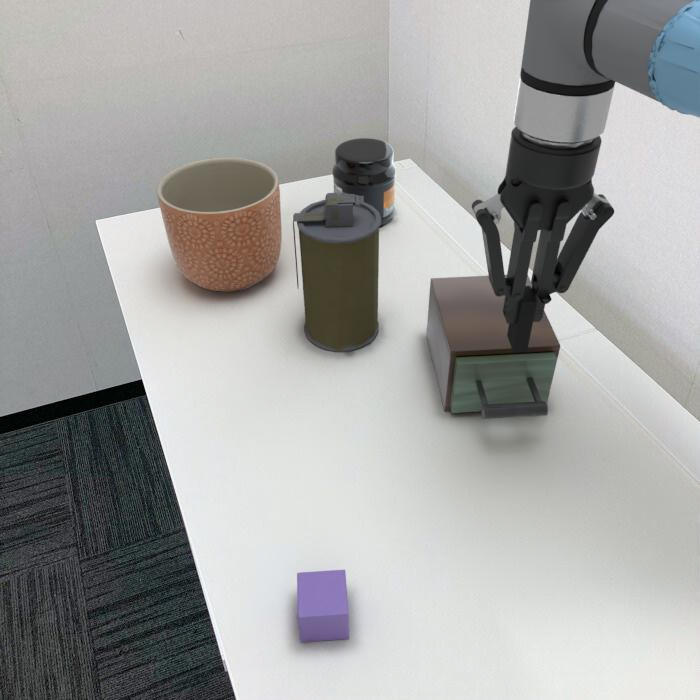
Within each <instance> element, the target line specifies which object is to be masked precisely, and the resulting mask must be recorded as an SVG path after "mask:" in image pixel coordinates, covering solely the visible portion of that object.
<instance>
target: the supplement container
mask: <svg viewBox="0 0 700 700" xmlns="http://www.w3.org/2000/svg"><path fill="white" fill-rule="evenodd" d="M394 153H395V152H394V148H393V147H392V146H391V144H389V143H388V142H386V141H384V140H381V139H376V138H370V137H369V138H368V137H367V138H365V137H361V138H353V139H349V140H346V141H343V142H342V143H340V144H339V145H337V147H336V148H335V150H334V162H335V163H334V165H333V167H332V177H333V193H338V194H355V196H356V195H358V196H359V198H360V200H359V201H362V202H365V203H367V204H369V205H371V206H373V207H374V208H375V209H376V210H377V211H378V212H379V213H380V217H381V224H380V226H382V225H384V224H386V223H388V222H389V221H390V220H391V219H392V218H393V217H394V214H395V210H396V209H395V196H396V195H395V194H396V193H395V192H396V176H397V168H396V166H395V163H394Z"/></svg>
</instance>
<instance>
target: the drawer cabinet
mask: <svg viewBox="0 0 700 700" xmlns="http://www.w3.org/2000/svg"><path fill="white" fill-rule="evenodd" d="M505 278H507V274H505ZM526 286H530V287H531V288H532V284H531V279H530V277H529V274H528V275H527V280H526ZM504 300H505V296H504V295H503V296H500V297H498V296H496V295H495V293H494V291H493V288H492V286H491V283H490V280H489V275H475V276H474V275H472V276H471V275H470V276H451V277H431V278H430V281H429V295H428V309H427V323H426V340H427V345H428V348H429V352H430V358H431V361H432V366H433V369H434V373H435V378H436V382H437V387H438V390H439V394H440V399H441V403H442V406H443V410H444V412H451V408H450V402H451V393H452V384H453V376H454V367H455V358H456V357H457V356H469V355H488V354H506V353H525V352H543V353H548V352H554V353H555V355H556V358H557V361H556V365H555V368H556V367H557V363H558V359H559V355H560V349H561V343H560V342H559V339H558V337H557V335H556V333H555V331H554V328H553V326H552V323H551V321H550V320H549V317H548V315H547V313H546V311H545V310H544V313H543V317H542V319H541V320H540V322H533V325H532V330H531V335H530V340H529V345H528V350H527V351H523V352H513V350H512V347H511V345H510V342H509V339H508V337H507V334H508V328H509V323H508V324H507V322H506V319H505V317H504V314H503V307H504ZM555 371H556V369H555V370H554V372H555ZM554 375H555V373H554V374H553V376H554ZM553 380H554V377H553V378H552V382H551V385H552V384H553ZM551 388H552V386H551V387H550V389H551ZM550 392H551V390H550V391H549V393H550ZM549 395H550V394H549ZM549 395H548V399H547V402H548V400H549Z"/></svg>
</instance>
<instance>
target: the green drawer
mask: <svg viewBox="0 0 700 700" xmlns="http://www.w3.org/2000/svg"><path fill="white" fill-rule="evenodd" d="M556 361H557V362H558V359H557V358H556V355H555V353H554V352H548V353H543V352H525V353H506V354H488V355H469V356H457V357H456V358H455V367H454V376H453V384H452V393H451V402H450V408H451V411H450V412H451V413H452V414H456V413H459V414H460V413H475V412H480V413H481V416H482V417H481V418H482V419H483V420H493V419H495V420H496V419H511V418H513V419H514V418H528V417H529V418H530V417H546V416H547V415H548V414H549V407H548V401H547V399H548V400H549V397H548V395H550V392H551V388H552V384H551V382H552V383H553V380H552V378H553V379H554V375H555V371H556V367H555V365H556V366H557V363H556ZM554 370H555V371H554ZM553 374H554V375H553ZM550 387H551V388H550ZM549 391H550V392H549Z"/></svg>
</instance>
